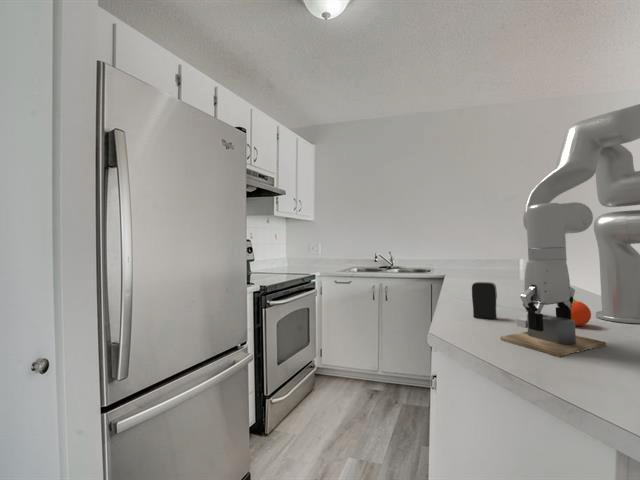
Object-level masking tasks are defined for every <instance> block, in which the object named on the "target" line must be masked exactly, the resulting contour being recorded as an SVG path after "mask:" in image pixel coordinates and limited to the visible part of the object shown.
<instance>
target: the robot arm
mask: <svg viewBox="0 0 640 480" xmlns="http://www.w3.org/2000/svg"><path fill="white" fill-rule="evenodd" d="M639 139H640V103H638V104H634V105H631V106H627V107H624V108H621V109H616V110H613V111H610V112H606V113H602V114H600V115H597V116H593V117H589V118H587V119H583V120H580V121H578V122H575V123H573V124H572V125H571V126H569V127H568V129H567V130H566V132H565V135H564V138H563V141H562V145H561V148H560V152H559V155H558V159H557V162H556V166H555V168H554V169H553V170H552V171H551V172H550V173H549V174H547V175H546V176H545V177H544V178H543V179H542V180H541V181H540V182H539V183H538V184H537V185H535V187H534V188H533V189H532V191H531V192H530V194H529V196H528V199H527V200H526V201H527V202H526V204H525V207H524V211H523V217H522V221H523V226H524V229H525V230H526V235H527V236H526V237H527V238H526V239H527V257H528V261H526V265H525V273H524V286H523V287H524V288H523V289H524V292H523V293H521V295H520V299H521V301H522V306H523V308H525V311H526V313H527V314H528V325H529V329H532V330H536V331H543V314H544V313H541V312H542V310H543V308H544V306H547V305H554V304H556V307H555V317H561V318H566V319H571V309H572V302H573V301H574V300H575V299H574V296H575V293H576V290H575V288H573V287H571V281H570V276H569V268H568V265H567V259H568V258H567V244H566V243H567V242H566V241H567V240H566V234H567V235H568V234H577V233H582V232H585V231H586V230H587V229H589V228H590V227H591V225H592V223H593V232H594V236H595V240H596V243H597V247H598V256H599V257H598V258H599V278H600V296H601V310H600V311H599V310H598V311H596V312H595V317H597V318H598V319H601V320H605V321H610V322H617V323H625V324H626V323H627V324H640V253H639V251H638V250H636V249H635V248H634V247H633V246H632V245H635V244H637V245H638V244H640V209H636V210H635V209H634V210H633V209H631V210H620V211H610V212H606V213H603V214H601V215H599V216H598V217H596V218H595V220H594V216H593V212H592V210H591V208H590V207H589V206H587V204H585V203H582V202H565V203H558V202H552V201H553V200H554V199H555V198H557V197H559V196H560V195H562V194H563V193H565V192H569V190H572V189H574V188H577V186H580V185H582V184H584V183H585V182H588V181H589V180H590V179H592V178H593V177H594V175H595V185H596V194H597V199H598V202H599V204H600V205H601V206H603V207H605V208H617V207H619V208H620V207H632V206H640V170H637V171H636V170H635V166H634V156H633V153H632V152H631V151H630V150H629V149H628V148H627V147H626V146H624V145H623V144H627V143H631V142H633V141H636V140H639ZM593 220H594V222H593Z"/></svg>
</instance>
